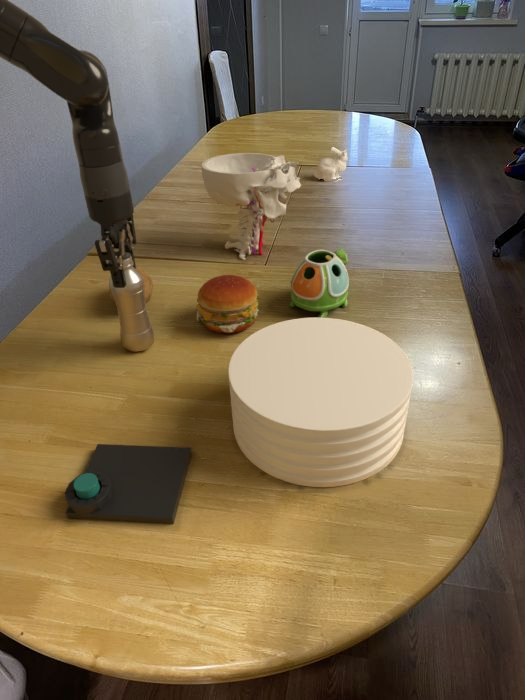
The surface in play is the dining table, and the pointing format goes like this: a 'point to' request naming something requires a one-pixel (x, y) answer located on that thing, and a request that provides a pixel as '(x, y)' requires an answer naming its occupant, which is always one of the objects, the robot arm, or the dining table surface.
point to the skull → (250, 192)
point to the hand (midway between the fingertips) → (125, 278)
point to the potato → (147, 285)
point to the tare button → (86, 486)
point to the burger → (227, 304)
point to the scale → (133, 484)
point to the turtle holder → (320, 282)
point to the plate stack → (319, 400)
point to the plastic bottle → (132, 308)
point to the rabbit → (332, 166)
